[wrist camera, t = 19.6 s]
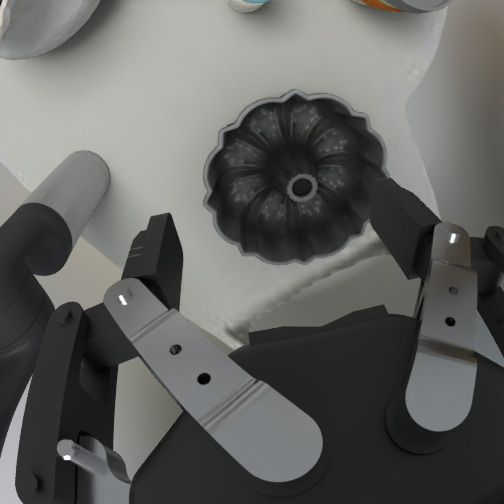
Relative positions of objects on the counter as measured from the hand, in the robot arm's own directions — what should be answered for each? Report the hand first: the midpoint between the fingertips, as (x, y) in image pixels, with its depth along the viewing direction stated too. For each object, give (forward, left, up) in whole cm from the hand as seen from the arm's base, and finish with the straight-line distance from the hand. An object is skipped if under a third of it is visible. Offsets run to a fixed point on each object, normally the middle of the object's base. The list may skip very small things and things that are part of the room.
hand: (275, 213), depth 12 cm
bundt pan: (+7, -13, -36) cm, 39 cm away
